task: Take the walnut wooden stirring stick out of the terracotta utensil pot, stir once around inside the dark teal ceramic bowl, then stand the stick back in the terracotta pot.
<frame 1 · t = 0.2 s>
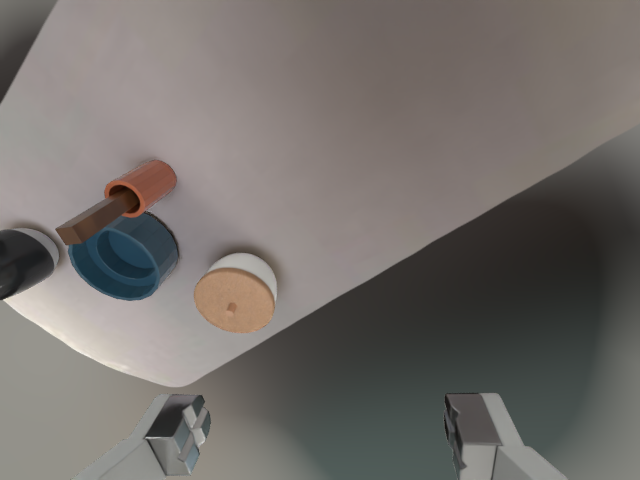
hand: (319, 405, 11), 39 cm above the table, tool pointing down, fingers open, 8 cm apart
black rounded egg shape: (42, 244, 58), on the table
utensil pot: (159, 176, 49), on the table
lidded bowl: (249, 269, 57), on the table
stirring stick: (157, 177, 48), point 1 cm above the table, touching utensil pot
mixing bowl: (139, 243, 56), on the table
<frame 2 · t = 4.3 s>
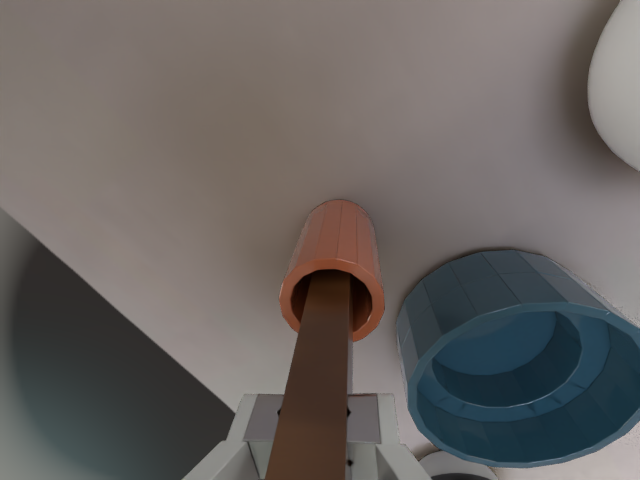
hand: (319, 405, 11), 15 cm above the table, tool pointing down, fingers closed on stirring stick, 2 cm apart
black rounded egg shape: (447, 463, 34), on the table
utensil pot: (338, 232, 24), on the table
stirring stick: (338, 235, 23), point 1 cm above the table, touching gripper, utensil pot
mixing bowl: (483, 323, 26), on the table
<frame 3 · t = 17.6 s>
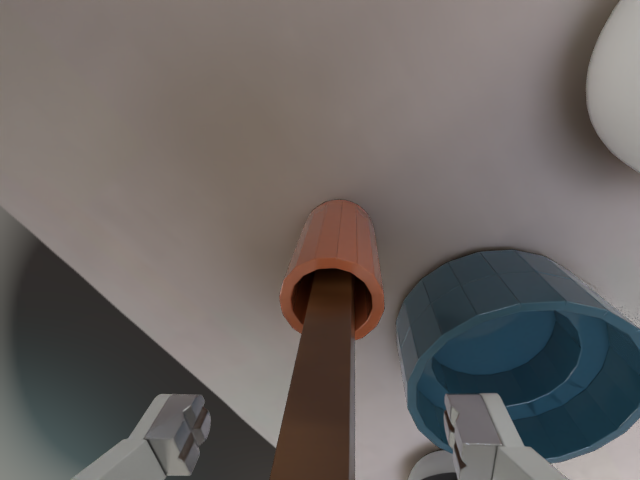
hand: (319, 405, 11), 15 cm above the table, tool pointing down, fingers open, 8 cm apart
black rounded egg shape: (447, 463, 34), on the table
utensil pot: (339, 232, 24), on the table
stirring stick: (340, 237, 23), point 1 cm above the table, touching utensil pot
mixing bowl: (483, 322, 26), on the table
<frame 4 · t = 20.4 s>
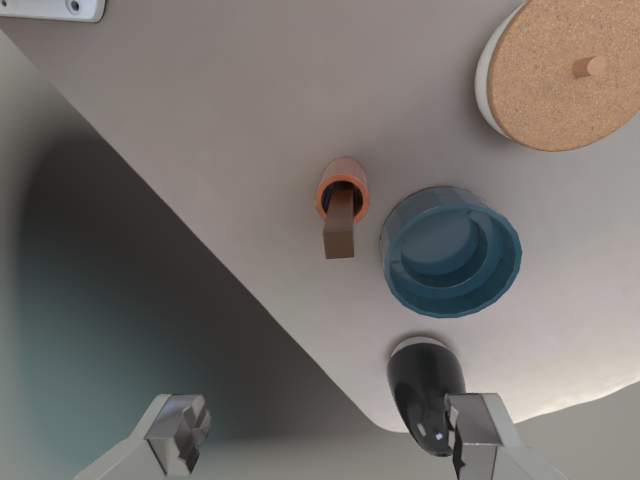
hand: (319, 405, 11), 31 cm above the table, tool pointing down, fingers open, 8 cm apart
black rounded egg shape: (418, 350, 49), on the table
utensil pot: (344, 178, 39), on the table
lidded bowl: (521, 74, 33), on the table
stirring stick: (345, 180, 38), point 1 cm above the table, touching utensil pot
mixing bowl: (435, 239, 41), on the table
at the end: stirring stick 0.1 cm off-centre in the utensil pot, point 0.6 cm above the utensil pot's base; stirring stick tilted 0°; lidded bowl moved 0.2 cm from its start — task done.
